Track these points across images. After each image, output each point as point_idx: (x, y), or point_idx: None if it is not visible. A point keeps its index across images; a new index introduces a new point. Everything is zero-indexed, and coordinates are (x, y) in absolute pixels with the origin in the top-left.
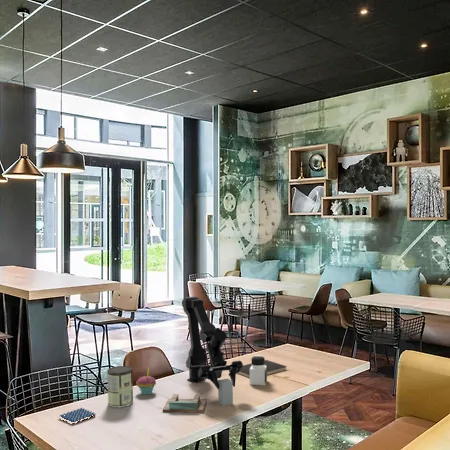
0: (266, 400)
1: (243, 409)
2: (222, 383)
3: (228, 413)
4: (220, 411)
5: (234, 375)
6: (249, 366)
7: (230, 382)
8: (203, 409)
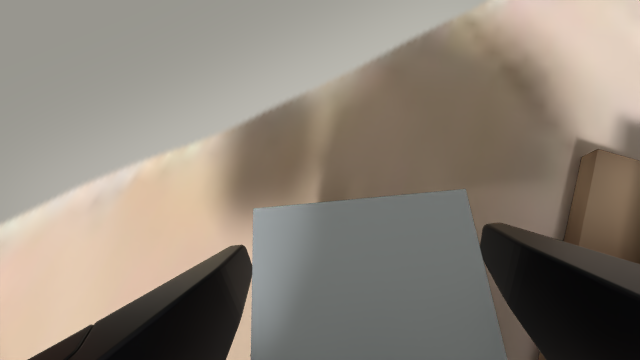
0: (92, 213)
1: (290, 123)
2: (461, 191)
3: (400, 93)
4: (444, 137)
5: (79, 346)
6: None
7: (295, 206)
8: (590, 168)
